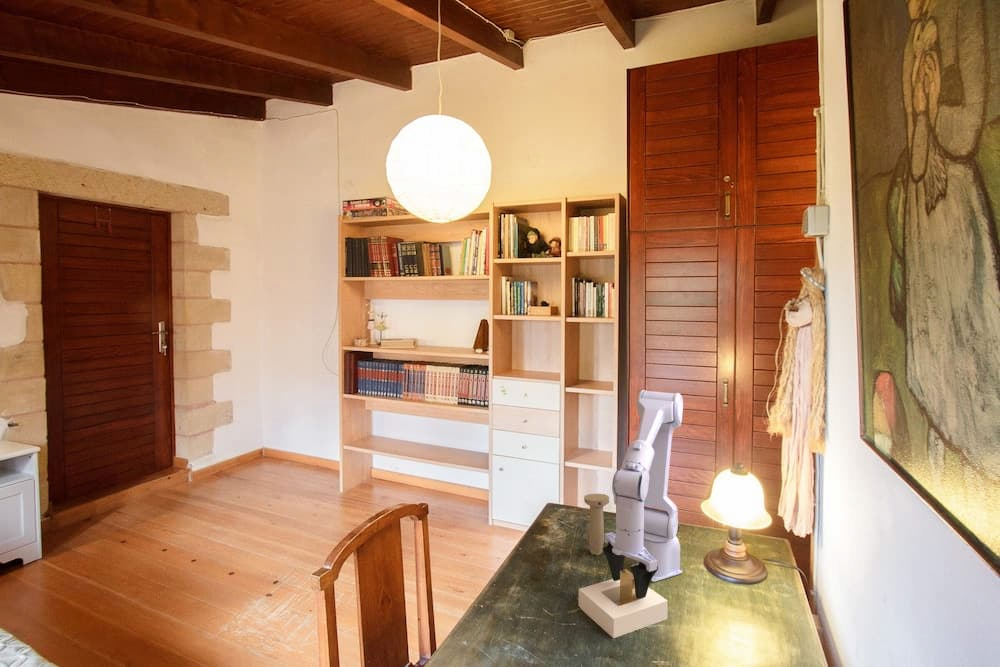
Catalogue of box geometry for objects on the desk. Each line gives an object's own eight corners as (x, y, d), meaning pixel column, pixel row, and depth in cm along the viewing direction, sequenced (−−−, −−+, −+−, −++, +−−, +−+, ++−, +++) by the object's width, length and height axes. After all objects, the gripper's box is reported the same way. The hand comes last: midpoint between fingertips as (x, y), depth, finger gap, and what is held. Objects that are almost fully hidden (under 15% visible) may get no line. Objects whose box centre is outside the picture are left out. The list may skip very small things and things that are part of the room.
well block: (629, 590, 122) (629, 573, 122) (667, 619, 112) (667, 600, 111) (578, 606, 116) (578, 588, 116) (613, 638, 105) (613, 618, 105)
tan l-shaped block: (625, 605, 117) (625, 568, 116) (637, 615, 113) (638, 577, 112) (606, 611, 114) (607, 574, 114) (618, 621, 111) (619, 583, 110)
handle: (611, 556, 138) (611, 500, 137) (586, 558, 137) (587, 501, 136) (605, 547, 143) (605, 493, 142) (581, 549, 142) (582, 494, 141)
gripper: (593, 517, 118) (593, 576, 119) (638, 544, 105) (637, 610, 106) (619, 511, 121) (618, 569, 122) (665, 537, 108) (664, 601, 109)
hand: (628, 588), depth 114 cm, fingers open, 7 cm apart
